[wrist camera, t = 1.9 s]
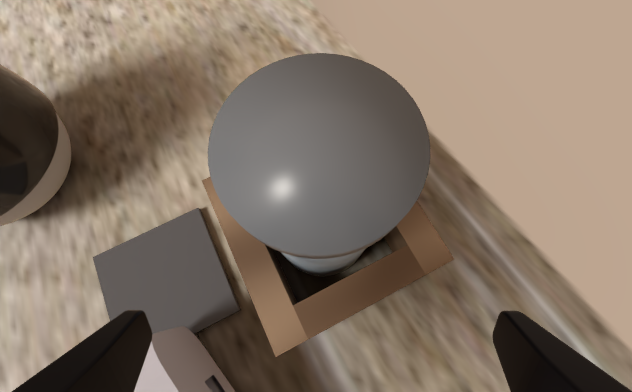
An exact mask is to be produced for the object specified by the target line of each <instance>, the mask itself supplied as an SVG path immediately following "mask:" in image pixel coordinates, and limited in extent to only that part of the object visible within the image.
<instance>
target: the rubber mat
mask: <svg viewBox="0 0 632 392" xmlns="http://www.w3.org/2000/svg"><path fill="white" fill-rule="evenodd" d="M93 260H94V263H95V267H96V271H97V274H98V278H99V282H100V285H101V289H102V293H103V296H104V300H105V304H106V307H107V311H108V315H109V318H110V321H111V320H113V319H114V318H116V317H117V316H118V315H120V314H121V313H123V312H124V311H127V310H143V311H144V312H145V314H146V316H147V319H148V322H149V324H150V327H151V330H152V334H154V333H158V332H161V331H165V330H169V329H173V328H176V327H180V326H184V327H186V328H188V329H189V330H190V331H191V332H192V333H193V334H195V333H197V332H199V331H201V330H203V329H205V328H207V327H209V326H211V325H212V324H214V323H216V322H218V321H220V320H222V319H224V318H226V317H228V316H230V315H232V314H234V313H236V312H237V311H239V310H241V309H240V307H239V304H238V302H237V299H236V297H235V294H234V292H233V289H232V287H231V284H230V282H229V279H228V277H227V274H226V272H225V269H224V267H223V265H222V262H221V260H220V257H219V255H218V252H217V250H216V247H215V245H214V242H213V240H212V237H211V235H210V232H209V230H208V227H207V225H206V222H205V220H204V217H203V215H202V212H201V210H200V209H199V208H196V209H194V210H192V211H190V212H188V213H186V214H184V215H182V216H179V217H177V218H175V219H173V220H171V221H169V222H167V223H165V224H162V225H160V226H158V227H156V228H154V229H152V230H150V231H148V232H145V233H143V234H141V235H139V236H137V237H135V238H133V239H131V240H128V241H126V242H124V243H122V244H120V245H118V246H116V247H114V248H112V249H109V250H107V251H105V252H103V253H101V254H99V255H97V256H95V257H93Z"/></svg>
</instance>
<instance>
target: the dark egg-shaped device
mask: <svg viewBox="0 0 632 392" xmlns="http://www.w3.org/2000/svg"><path fill="white" fill-rule="evenodd" d="M70 163H71V143H70V139H69V136H68V133H67V130H66V128H65V126H64V124H63V122H62V121H61V119H60V118H59V116H58V115H57V114H56V112H55V109H54V107H53V105H52V103H51V102H50V100H49V99H48V98H47V97H46V95H45V94H44V93H42V92H41V91H40V90H39V89H38V88H36V87H35V86H34V85H32V84H31V83H30V82H28V81H27V80H25V79H24V78H22V77H21V76H19V75H18V74H16V73H14V72H13V71H11V70H9V69H8V68H6V67H4V66H2V65H0V226H2V225H6V224H9V223H12V222H14V221H17V220H19V219H22V218H24V217H26V216H28V215H30V214H31V213H33V212H35V211H36V210H38V209H39V208H41V207H42V206H43V205H44V204H46V203H47V202H48V201H49V200H50V199H51V198H52V197H53V196H54V195H55V194H56V192H57V191H58V190H59V189H60V187H61V186H62V184H63V182H64V180H65V178H66V176H67V174H68V171H69V168H70Z"/></svg>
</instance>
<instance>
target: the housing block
mask: <svg viewBox="0 0 632 392" xmlns="http://www.w3.org/2000/svg"><path fill="white" fill-rule="evenodd" d="M202 182H203V184H204V187H205V189H206V192H207V194H208V196H209V199H210V201H211V204H212V206H213V208H214V211H215V213H216V215H217V218H218V220H219V223H220V225H221V227H222V230H223V232H224V235H225V237H226V239H227V242H228V244H229V247H230V249H231V251H232V254H233V256H234V259H235V261H236V263H237V266H238V268H239V270H240V273H241V275H242V278H243V280H244V282H245V285H246V287H247V290H248V292H249V294H250V297H251V299H252V302H253V304H254V306H255V309H256V311H257V314H258V316H259V318H260V321H261V323H262V326H263V328H264V330H265V333H266V335H267V337H268V340H269V342H270V345H271V347H272V349H273V352H274V354H275V357H277V356H279V355H280V354H282V353H284V352H286V351H288V350H290V349H291V348H293V347H295V346H297V345H299V344H301V343H302V342H304V341H306V340H308V339H310V338H311V337H313V336H315V335H317V334H319V333H321V332H322V331H324V330H326V329H328V328H330V327H332V326H333V325H335V324H337V323H339V322H341V321H342V320H344V319H346V318H348V317H350V316H352V315H353V314H355V313H357V312H359V311H361V310H363V309H364V308H366V307H368V306H370V305H372V304H373V303H375V302H377V301H379V300H381V299H383V298H384V297H386V296H388V295H390V294H392V293H394V292H395V291H397V290H399V289H401V288H403V287H405V286H406V285H408V284H410V283H412V282H414V281H415V280H417V279H419V278H421V277H423V276H425V275H426V274H428V273H430V272H432V271H434V270H436V269H437V268H439V267H441V266H443V265H445V264H446V263H448V262H450V261H452V260H454V258H453V256H452V255H451V253H450V252H449V250H448V248H447V247H446V245H445V244H444V242H443V241H442V239H441V238H440V236H439V234H438V233H437V231H436V230H435V228H434V227H433V225H432V224H431V222H430V220H429V219H428V217H427V216H426V214H425V213H424V211H423V210H422V208H421V206H420V205H419V203H418V202H417V201H416V202H415V204H414V205H413V207H412V208H411V210H410V211H409V212H408V213H407V214H406V215H405V217H404V218H403V219H402V220H401V221H400V222H399V223H398V224H397V225H396V226H395V227H394V228H393V229H392V231H390V232H389V233H388V234H387V235H386V236H384V238H385V240H386V242H387V243H388V245H389V247H390V249H391V250H392V252H393V253H391V254H389V255H387V256H385V257H383V258H382V259H380V260H378V261H376V262H374V263H372V264H370V265H368V266H367V267H365V268H363V269H361V270H359V271H357V272H355V273H353V274H351V275H350V276H348V277H346V278H344V279H342V280H340V281H338V282H336V283H334V284H333V285H331V286H329V287H327V288H325V289H323V290H321V291H319V292H318V293H316V294H314V295H312V296H310V297H308V298H306V299H304V300H302V301H301V302H299V303H297V301H296V298H295V296H294V294H293V292H292V290H291V288H290V285H289V283H288V281H287V279H286V277H285V275H284V272H283V270H282V268H281V266H280V264H279V262H278V259H277V257H276V255H275V253H274V251H273V249H272V248H270V247H269V246H267V245H265V244H263V243H262V242H260V241H259V240H257V239H256V238H255V237H253V236H252V235H251V234H250V233H248V232H247V231H246V230H245V229H244V228H243V227H242V226H240V225H239V224H238V222H237V221H236V220H235V219H234V218H233V217H232V216H231V215H230V214H229V213H228V211H227V210H226V208H225V207H224V206H223V204H222V203H221V201H220V199H219V197H218V195H217V193H216V191H215V189H214V186H213V183H212V180H211V177H209V178H207V179H204V180H202Z"/></svg>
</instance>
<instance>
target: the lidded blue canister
mask: <svg viewBox="0 0 632 392" xmlns="http://www.w3.org/2000/svg"><path fill="white" fill-rule="evenodd" d="M429 163H430V142H429V135H428V131H427V127H426V124H425V121H424V119H423V116H422V114H421V112H420V109H419V108H418V106H417V105H416V103H415V101H414V100H413V98H412V97H411V96H410V95H409V93H408V92H407V91H406V90H405V88H403V87H402V86H401V85H400V84H399V83H398V82H397V81H396V80H395V79H394V78H392V77H391V76H390V75H388V74H387V73H386V72H384V71H382V70H380V69H379V68H377V67H375V66H373V65H371V64H369V63H366V62H364V61H362V60H358V59H355V58H352V57H348V56H343V55H337V54H326V53H317V54H304V55H297V56H293V57H289V58H285V59H282V60H279V61H277V62H274V63H272V64H269V65H267V66H265V67H263V68H261V69H260V70H258V71H257V72H255V73H253V74H252V75H250V76H249V77H248V78H247V79H245V80H244V81H243V82H242V83H240V84H239V85H238V87H237V88H236V89H235V90H234V91H233V92H232V93H231V94H230V95H229V97H228V98H227V99H226V101H225V102H224V103H223V105H222V107H221V109H220V110H219V112H218V114H217V116H216V119H215V121H214V124H213V126H212V130H211V134H210V138H209V146H208V166H209V171H210V176H211V180H212V183H213V186H214V189H215V191H216V193H217V195H218V197H219V199H220V201H221V203H222V204H223V206H224V207H225V208H226V210H227V211H228V213H229V214H230V215H231V216H232V217H233V218H234V219H235V220H236V221H237V222H238V224H239V225H240V226H242V227H243V228H244V229H245V230H246V231H247V232H248V233H250V234H251V235H252V236H253V237H255V238H256V239H257V240H259V241H260V242H262V243H263V244H265V245H267V246H269V247H270V248H272V249H275V250H277V251H280V252H281V253H282V254H283V255H284V256H285V257H286V259H287V260H288V261H289V262H290V263H291V264H292V265H293V266H295V267H296V268H297V269H299V270H300V271H302V272H304V273H307V274H309V275H313V276H332V275H335V274H338V273H341V272H343V271H345V270H346V269H348V268H349V267H350V266H352V265H353V264H354V263H355V262H356V260H357V259H358V258H359V257H360V255H361V254H362V253H363V251H364V250H365V249H366V248H367V247H369V246H371V245H372V244H374V243H376V242H377V241H379V240H381V239H382V238H383V237H384V236H386V235H387V234H388V233H389V232H390V231H392V229H393V228H394V227H395V226H396V225H397V224H398V223H399V222H400V221H401V220H402V219H403V218H404V217H405V215H406V214H407V213H408V212H409V211H410V210H411V208H412V207H413V205H414V204H415V202H416V201H417V199H418V197H419V195H420V193H421V191H422V189H423V187H424V184H425V181H426V178H427V175H428V170H429Z"/></svg>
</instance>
